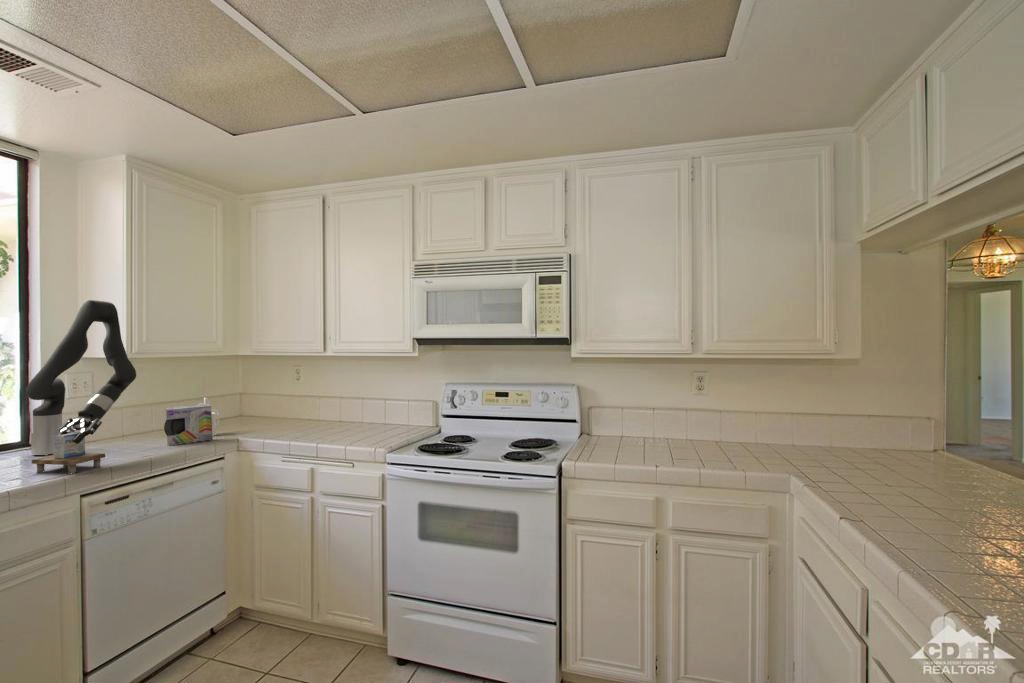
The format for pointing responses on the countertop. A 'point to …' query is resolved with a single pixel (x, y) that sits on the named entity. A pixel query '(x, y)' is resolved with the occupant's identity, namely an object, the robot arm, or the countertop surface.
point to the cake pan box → (188, 424)
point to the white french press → (206, 402)
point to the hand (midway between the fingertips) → (65, 442)
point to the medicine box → (68, 446)
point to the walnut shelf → (68, 461)
